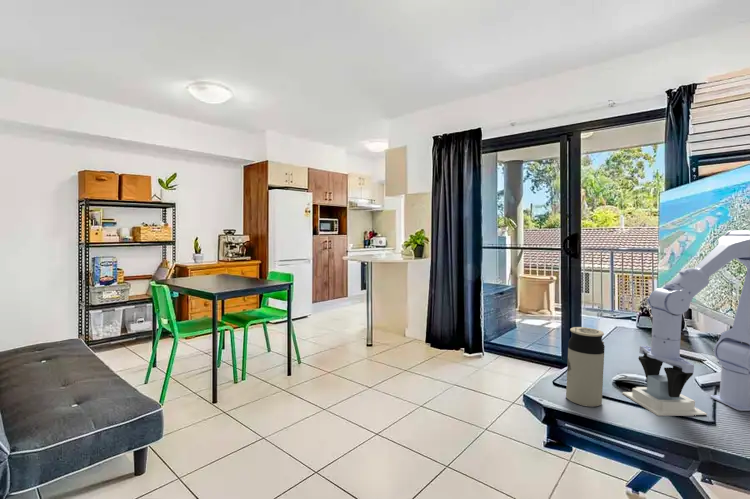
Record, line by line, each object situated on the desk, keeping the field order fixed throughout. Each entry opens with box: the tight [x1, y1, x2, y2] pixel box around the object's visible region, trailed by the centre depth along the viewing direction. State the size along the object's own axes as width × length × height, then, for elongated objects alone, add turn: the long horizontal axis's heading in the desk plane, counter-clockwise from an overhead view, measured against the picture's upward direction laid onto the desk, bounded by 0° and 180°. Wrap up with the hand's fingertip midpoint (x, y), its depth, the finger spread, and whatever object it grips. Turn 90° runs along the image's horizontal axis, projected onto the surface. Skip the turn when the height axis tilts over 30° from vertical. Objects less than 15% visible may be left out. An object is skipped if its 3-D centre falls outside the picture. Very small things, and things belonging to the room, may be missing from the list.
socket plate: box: [621, 386, 708, 417], centre depth 95 cm, size 12×12×2 cm
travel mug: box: [565, 326, 606, 408], centre depth 96 cm, size 8×8×18 cm
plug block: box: [646, 374, 679, 400], centre depth 95 cm, size 5×4×6 cm
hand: (662, 390), depth 95 cm, fingers open, 6 cm apart
